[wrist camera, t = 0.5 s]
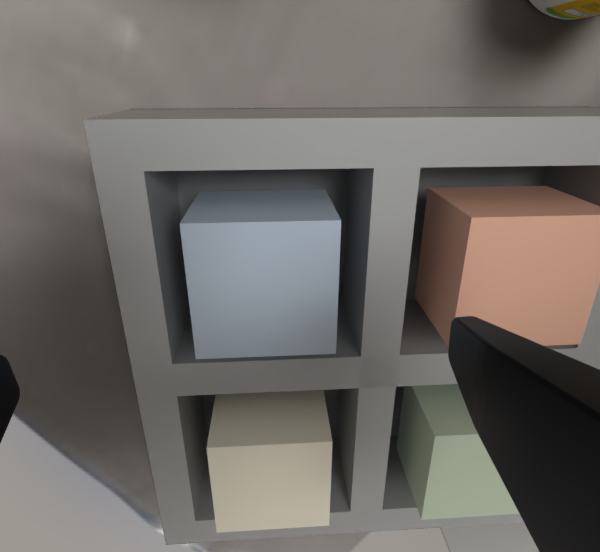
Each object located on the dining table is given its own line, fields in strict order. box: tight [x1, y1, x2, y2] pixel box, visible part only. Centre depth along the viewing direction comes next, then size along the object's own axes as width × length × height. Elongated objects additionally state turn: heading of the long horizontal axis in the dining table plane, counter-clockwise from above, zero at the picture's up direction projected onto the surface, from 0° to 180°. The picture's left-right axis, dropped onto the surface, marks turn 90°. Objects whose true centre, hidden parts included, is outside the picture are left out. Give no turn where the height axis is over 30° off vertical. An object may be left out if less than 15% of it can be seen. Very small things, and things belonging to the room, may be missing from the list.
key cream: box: [207, 390, 333, 533], centre depth 20 cm, size 5×5×4 cm
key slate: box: [180, 189, 341, 359], centre depth 16 cm, size 5×5×4 cm
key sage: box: [396, 384, 519, 520], centre depth 21 cm, size 5×5×4 cm
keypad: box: [83, 107, 600, 545], centre depth 21 cm, size 20×20×5 cm
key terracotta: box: [415, 186, 600, 348], centre depth 17 cm, size 5×5×4 cm
